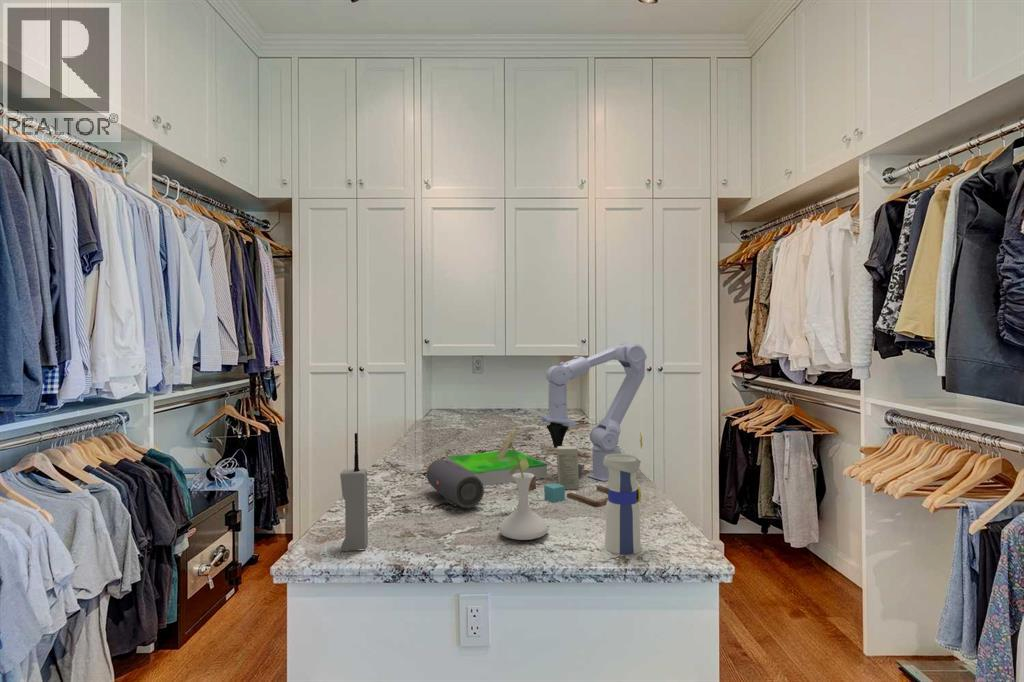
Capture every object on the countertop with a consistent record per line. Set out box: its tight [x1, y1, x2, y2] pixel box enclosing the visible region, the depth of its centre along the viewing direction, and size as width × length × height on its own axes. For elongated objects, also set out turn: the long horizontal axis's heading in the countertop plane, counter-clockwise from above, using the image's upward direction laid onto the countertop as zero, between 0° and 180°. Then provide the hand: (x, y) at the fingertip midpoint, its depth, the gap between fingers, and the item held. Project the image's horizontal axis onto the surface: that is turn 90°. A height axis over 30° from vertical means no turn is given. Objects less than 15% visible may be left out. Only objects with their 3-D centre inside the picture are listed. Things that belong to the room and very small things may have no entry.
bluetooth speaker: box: [426, 458, 485, 509], centre depth 153 cm, size 23×9×10 cm, turn 27°
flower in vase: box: [497, 428, 549, 541], centre depth 126 cm, size 13×11×25 cm
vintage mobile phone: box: [339, 432, 369, 551], centre depth 120 cm, size 4×5×25 cm
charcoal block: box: [578, 463, 583, 478], centre depth 179 cm, size 4×4×4 cm
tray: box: [447, 449, 548, 487], centre depth 183 cm, size 25×25×5 cm
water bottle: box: [603, 432, 643, 555], centre depth 119 cm, size 8×9×25 cm
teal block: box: [543, 482, 566, 504], centre depth 154 cm, size 4×4×4 cm
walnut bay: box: [566, 485, 608, 508], centre depth 155 cm, size 13×12×1 cm
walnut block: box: [529, 476, 537, 491], centre depth 164 cm, size 4×4×4 cm
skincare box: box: [556, 445, 580, 490], centre depth 166 cm, size 6×4×12 cm
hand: (557, 447), depth 174 cm, fingers closed
